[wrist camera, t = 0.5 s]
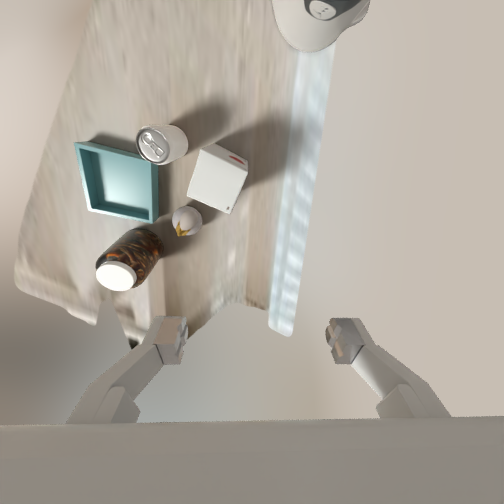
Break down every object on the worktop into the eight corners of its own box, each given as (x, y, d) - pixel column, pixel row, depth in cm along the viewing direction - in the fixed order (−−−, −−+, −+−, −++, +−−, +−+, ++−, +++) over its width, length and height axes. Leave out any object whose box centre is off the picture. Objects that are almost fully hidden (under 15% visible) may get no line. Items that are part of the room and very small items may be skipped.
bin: (87, 141, 43) (73, 142, 39) (158, 159, 45) (150, 161, 42) (99, 204, 51) (88, 210, 47) (158, 217, 53) (152, 223, 49)
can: (172, 117, 41) (148, 114, 31) (194, 145, 44) (179, 150, 34) (153, 139, 43) (125, 142, 33) (175, 164, 46) (156, 174, 36)
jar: (122, 222, 54) (84, 252, 41) (165, 234, 56) (142, 265, 43) (122, 256, 60) (89, 290, 47) (161, 265, 62) (140, 300, 49)
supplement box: (249, 160, 46) (250, 172, 33) (234, 194, 50) (231, 216, 38) (213, 141, 44) (200, 146, 31) (201, 178, 48) (185, 196, 35)
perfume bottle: (176, 224, 54) (160, 246, 44) (178, 191, 49) (160, 207, 39) (202, 230, 56) (193, 253, 46) (207, 198, 51) (198, 216, 40)
